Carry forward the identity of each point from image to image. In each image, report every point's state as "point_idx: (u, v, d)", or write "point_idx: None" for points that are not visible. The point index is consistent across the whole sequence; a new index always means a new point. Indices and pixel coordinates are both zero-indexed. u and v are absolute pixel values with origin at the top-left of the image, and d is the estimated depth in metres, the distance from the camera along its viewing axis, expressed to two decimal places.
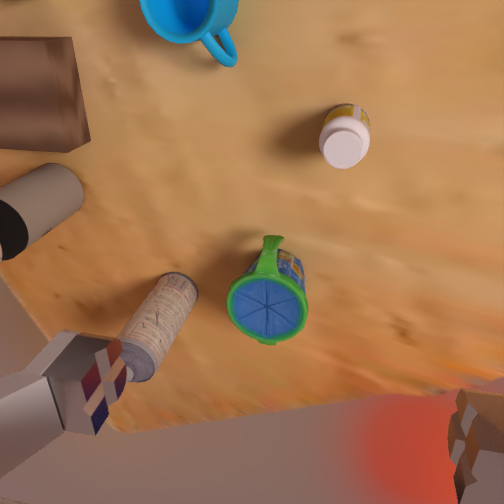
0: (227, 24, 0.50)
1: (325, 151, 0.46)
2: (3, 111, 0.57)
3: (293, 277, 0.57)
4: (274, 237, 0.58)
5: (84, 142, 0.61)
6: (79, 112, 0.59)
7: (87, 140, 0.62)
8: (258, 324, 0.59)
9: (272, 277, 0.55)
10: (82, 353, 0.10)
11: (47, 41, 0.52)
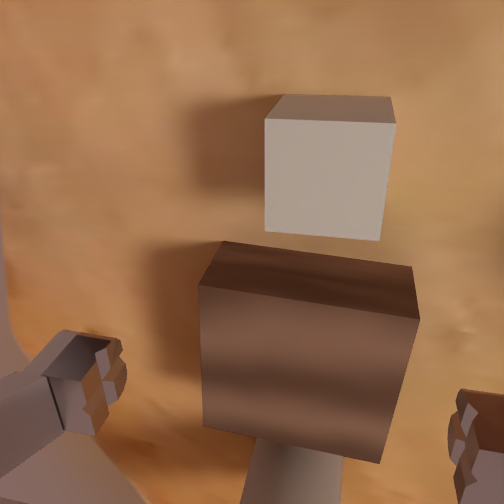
0: None
1: None
2: (274, 394, 0.31)
3: None
4: None
5: None
6: None
7: None
8: None
9: None
10: (82, 353, 0.10)
11: (418, 313, 0.26)
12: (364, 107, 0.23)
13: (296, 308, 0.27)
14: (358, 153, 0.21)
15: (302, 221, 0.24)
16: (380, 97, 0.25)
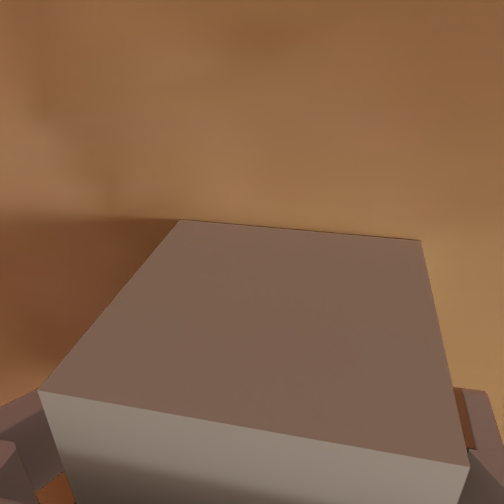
0: None
1: None
2: None
3: None
4: None
5: None
6: None
7: None
8: None
9: None
10: None
11: None
12: (357, 306, 0.08)
13: None
14: None
15: None
16: (397, 245, 0.10)
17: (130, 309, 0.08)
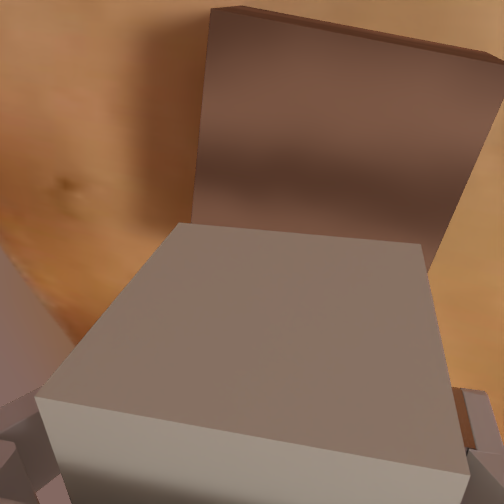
0: None
1: None
2: (289, 203, 0.23)
3: None
4: None
5: None
6: None
7: None
8: None
9: None
10: None
11: None
12: (357, 311, 0.08)
13: (344, 50, 0.19)
14: None
15: None
16: (397, 248, 0.10)
17: (128, 314, 0.08)
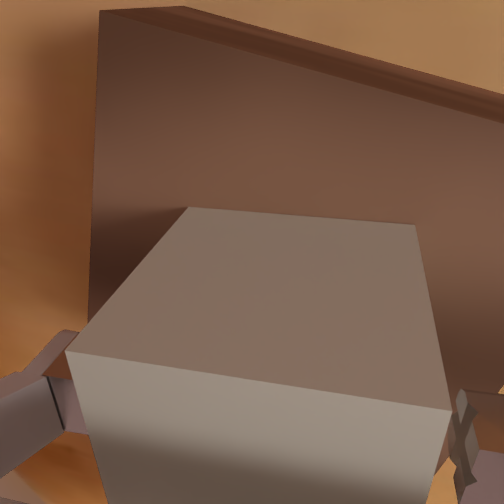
0: None
1: None
2: None
3: None
4: None
5: None
6: None
7: None
8: None
9: None
10: None
11: None
12: (354, 281, 0.09)
13: (343, 108, 0.10)
14: (335, 459, 0.07)
15: None
16: (392, 228, 0.11)
17: (145, 284, 0.09)
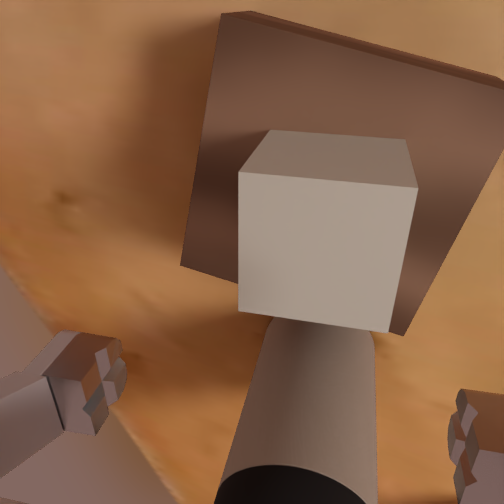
0: None
1: None
2: None
3: None
4: None
5: None
6: None
7: None
8: None
9: None
10: (82, 353, 0.10)
11: None
12: (372, 156, 0.17)
13: (356, 67, 0.19)
14: (364, 223, 0.16)
15: (287, 302, 0.18)
16: (392, 140, 0.19)
17: (263, 155, 0.17)
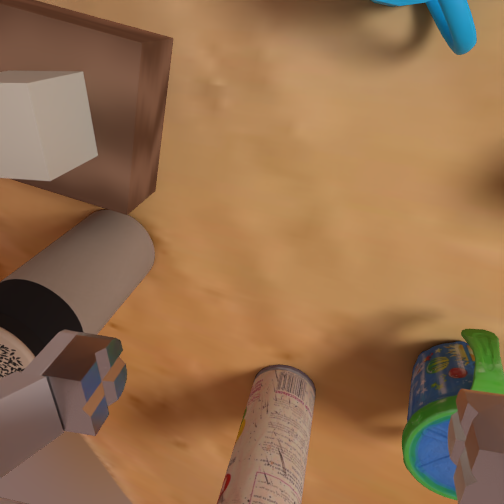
0: None
1: None
2: None
3: None
4: (482, 335, 0.36)
5: (148, 194, 0.40)
6: (154, 152, 0.38)
7: (152, 191, 0.40)
8: (451, 475, 0.36)
9: None
10: (82, 353, 0.10)
11: (146, 44, 0.30)
12: (39, 76, 0.29)
13: (46, 26, 0.31)
14: (11, 108, 0.27)
15: None
16: (73, 71, 0.31)
17: None
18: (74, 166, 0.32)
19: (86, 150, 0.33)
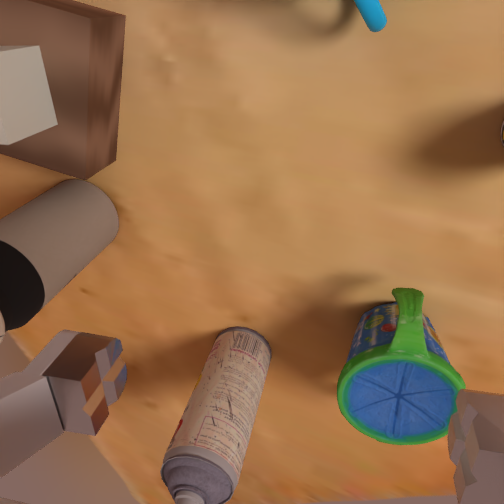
0: None
1: None
2: None
3: (440, 353, 0.38)
4: (409, 292, 0.39)
5: (108, 163, 0.43)
6: (112, 122, 0.41)
7: (112, 160, 0.44)
8: (381, 420, 0.40)
9: (420, 359, 0.36)
10: (82, 353, 0.10)
11: (95, 19, 0.33)
12: None
13: (3, 2, 0.34)
14: None
15: None
16: None
17: None
18: (33, 132, 0.35)
19: (45, 118, 0.36)
